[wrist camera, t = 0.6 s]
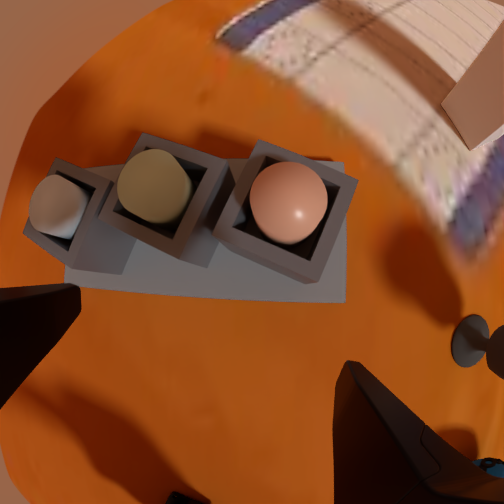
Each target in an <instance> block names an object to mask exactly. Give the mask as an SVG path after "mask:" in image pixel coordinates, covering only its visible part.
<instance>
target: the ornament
mask: <svg viewBox="0 0 504 504" xmlns="http://www.w3.org/2000/svg"><path fill="white" fill-rule="evenodd" d="M472 462H473V463H474V464H475V465H477V466H478V467H479V468H481V469H482V470H483V471H485V472H486V473H488V474H490V475H493V476H496V477H501V478H504V462H503V461H502V460H500V459H494V458H484V459H478V460H475V461H472Z"/></svg>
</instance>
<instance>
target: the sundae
mask: <svg viewBox="0 0 504 504" xmlns="http://www.w3.org/2000/svg"><path fill="white" fill-rule="evenodd" d="M485 352H486V359H487V364H488V367H489V369H490V370H492V371H493V372H494V373H495V374H496V375H498V376H499V377H500V378H502V379H504V325H502V326H500V327H499V328H498V329H496V330H495V331H494V333H493V334H492V336H491V337H490V339H489V328H488V325H487V323H486V321H485V320H484V319H483V318H482V317H481V316H478V315H472V316H469V317H467V318H465V319H464V320H463V321H462V322H461V323H460V324H459V326H458V328H457V329H456V331H455V333H454V337H453V341H452V355H453V358H454V360H455V362H456V363H457V364H458V365H459V366H461V367H471V366H473V365H475V364H476V363H477V362H478V361H480V359H481V358H482V357H483V356H484V354H485Z"/></svg>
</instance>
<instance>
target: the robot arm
mask: <svg viewBox="0 0 504 504" xmlns="http://www.w3.org/2000/svg"><path fill="white" fill-rule="evenodd" d="M80 312H81V290H80V287H79V286H77V285H75V284H72V283H61V284H49V285H36V286H23V287H10V288H0V409H1V408H2V407H3V405H4V404H5V403H6V402H7V400H8V399H9V398H10V397H11V396H12V394H13V393H14V392H15V391H16V389H17V388H18V387H19V386H20V385H21V384H22V382H23V381H24V380H25V379H26V378H27V376H28V375H29V374H30V373H31V372H32V371H33V370H34V368H35V367H36V366H37V365H38V364H39V363H40V362H41V360H42V359H43V358H44V357H45V356H46V355H47V354H48V353H49V352H50V350H51V349H52V348H53V347H54V346H55V345H56V344H57V343H58V341H59V340H60V339H61V338H62V336H63V335H64V334H65V332H66V331H67V330H68V328H69V327H70V326H71V324H72V323H73V322H74V321H75V319H76V318H77V317H78V315H79V314H80ZM332 430H333V459H334V504H504V478H501V477H496V476H493V475H490V474H488V473H486V472H485V471H483V470H482V469H481V468H479V467H478V466H477V465H475V464H474V463H473V462H471V461H470V460H469V459H467V458H466V457H465V456H463V455H462V454H461V453H459V452H458V451H457V450H455V449H454V448H453V447H452V446H450V445H449V444H448V443H447V442H445V441H444V440H443V439H442V438H441V437H440V436H438V435H437V434H436V433H435V432H434V431H433V430H432V429H431V428H430V427H429V426H428V425H425V423H424V422H423V421H422V420H421V419H420V418H419V417H418V416H417V415H416V414H414V413H413V412H412V411H411V410H410V409H409V408H408V407H407V406H406V405H405V404H404V403H403V402H402V401H400V400H399V399H398V398H397V397H396V396H395V395H394V394H393V393H392V392H391V391H390V390H389V389H388V388H387V387H385V386H384V385H383V384H382V383H381V382H380V381H379V380H378V379H377V378H376V377H375V376H374V375H373V374H372V373H370V372H369V371H368V370H367V369H366V368H365V367H364V366H363V365H362V364H361V363H360V362H356V361H350V360H348V361H346V362H345V364H344V366H343V368H342V370H341V373H340V375H339V377H338V379H337V382H336V386H335V399H334V413H333V428H332ZM175 496H177V497H175ZM165 504H203V503H200V502H198V501H196V500H193V499H191V498H189V497H186V496H184V495H182V494H180V493H178V492H172V493H171V494H170V496H169V498H168V500H167V501H166V503H165Z"/></svg>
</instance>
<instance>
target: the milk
mask: <svg viewBox="0 0 504 504" xmlns="http://www.w3.org/2000/svg"><path fill="white" fill-rule="evenodd" d="M441 106H442V107H443V109H444V110H445V112H446V113H447V114H448V116H449V117H450V119H451V120H452V122H453V124H454V125H455V127H456V128H457V130H458V131H459V133H460V135H461V136H462V138H463V140H464V141H465V143H466V145H467V146H468V148H469V150H470V151H472V150H474V149H477V148H479V147H481V146H483V145H485V144H488V143H490V142H492V141H494V140H496V139H498V138H499V137H501V136H502V135H503V134H504V20H503V22H502V23H501V25H500V26H499V27H498V29H497V30H496V32H495V33H494V34H493V36H492V37H491V39H490V40H489V41H488V43H487V44H486V45H485V47H484V48H483V50H482V51H481V52H480V54H479V55H478V56H477V58H476V59H475V60H474V62H473V63H472V64H471V66H470V67H469V68H468V70H467V71H466V72H465V73H464V75H463V76H462V77H461V79H460V80H459V81H458V82H457V84H456V85H455V86H454V88H453V89H452V90H451V91H450V93H449V94H448V95H447V96H446V98H445V99H444V100H443V101H442V103H441Z"/></svg>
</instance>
